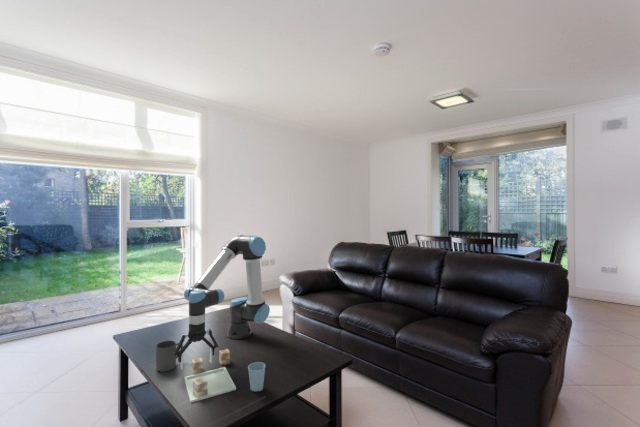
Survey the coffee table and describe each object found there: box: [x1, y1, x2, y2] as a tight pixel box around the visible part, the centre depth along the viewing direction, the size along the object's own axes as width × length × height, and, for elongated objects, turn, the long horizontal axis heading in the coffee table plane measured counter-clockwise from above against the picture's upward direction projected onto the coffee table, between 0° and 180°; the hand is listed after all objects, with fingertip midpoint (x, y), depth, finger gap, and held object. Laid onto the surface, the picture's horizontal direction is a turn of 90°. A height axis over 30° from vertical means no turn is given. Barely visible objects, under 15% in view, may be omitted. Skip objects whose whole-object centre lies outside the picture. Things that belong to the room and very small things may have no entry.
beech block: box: [191, 357, 204, 375], centre depth 155 cm, size 4×4×6 cm
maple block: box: [193, 377, 208, 398], centre depth 135 cm, size 4×4×6 cm
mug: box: [155, 340, 184, 373], centre depth 161 cm, size 14×9×12 cm
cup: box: [247, 361, 266, 392], centre depth 141 cm, size 8×8×10 cm
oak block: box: [218, 348, 231, 366], centre depth 165 cm, size 4×4×6 cm
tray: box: [183, 366, 237, 404], centre depth 144 cm, size 19×21×2 cm
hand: (196, 365), depth 155 cm, fingers open, 13 cm apart
